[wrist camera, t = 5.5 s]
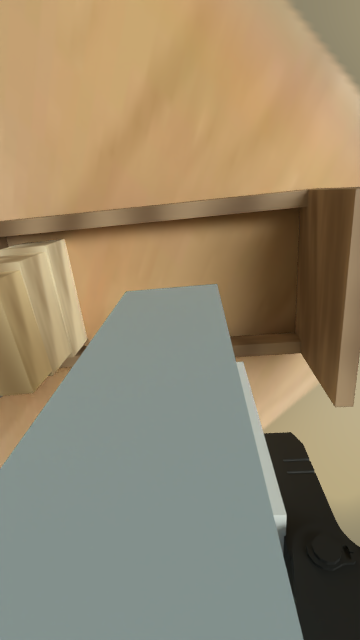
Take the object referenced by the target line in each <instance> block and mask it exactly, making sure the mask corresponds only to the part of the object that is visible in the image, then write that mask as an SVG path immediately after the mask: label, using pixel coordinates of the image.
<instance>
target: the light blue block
mask: <svg viewBox="0 0 360 640" xmlns="http://www.w3.org/2000/svg"><path fill="white" fill-rule="evenodd" d="M0 640H304V639H303V635H302V631H301V627H300V623H299V619H298V615H297V610H296V606H295V602H294V598H293V594H292V590H291V586H290V582H289V578H288V573H287V569H286V565H285V561H284V557H283V553H282V549H281V545H280V541H279V536H278V532H277V528H276V524H275V520H274V516H273V512H272V508H271V503H270V499H269V495H268V491H267V487H266V483H265V479H264V475H263V471H262V466H261V462H260V458H259V454H258V450H257V446H256V442H255V438H254V434H253V429H252V425H251V421H250V417H249V413H248V409H247V405H246V401H245V397H244V392H243V388H242V384H241V380H240V376H239V372H238V368H237V364H236V359H235V355H234V351H233V347H232V343H231V339H230V335H229V331H228V327H227V322H226V318H225V314H224V310H223V306H222V302H221V298H220V294H219V290H218V285H217V284H210V285H198V286H186V287H174V288H162V289H150V290H138V291H127V292H125V294H124V295H123V297H122V298H121V299H120V301H119V302H118V304H117V305H116V306H115V308H114V309H113V311H112V312H111V313H110V315H109V316H108V318H107V319H106V321H105V322H104V323H103V325H102V326H101V328H100V329H99V330H98V332H97V333H96V335H95V336H94V337H93V339H92V340H91V342H90V343H89V345H88V346H87V347H86V349H85V350H84V352H83V353H82V354H81V356H80V357H79V359H78V360H77V361H76V363H75V364H74V366H73V367H72V368H71V370H70V371H69V373H68V374H67V376H66V377H65V378H64V380H63V381H62V383H61V384H60V385H59V387H58V388H57V390H56V391H55V392H54V394H53V395H52V397H51V398H50V400H49V401H48V402H47V404H46V405H45V407H44V408H43V409H42V411H41V412H40V414H39V415H38V416H37V418H36V419H35V421H34V422H33V424H32V425H31V426H30V428H29V429H28V431H27V432H26V433H25V435H24V436H23V438H22V439H21V440H20V442H19V443H18V445H17V446H16V447H15V449H14V450H13V452H12V453H11V455H10V456H9V457H8V459H7V460H6V462H5V463H4V464H3V466H2V467H1V469H0Z"/></svg>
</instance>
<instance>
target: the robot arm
mask: <svg viewBox="0 0 360 640" xmlns="http://www.w3.org/2000/svg"><path fill="white" fill-rule="evenodd" d="M236 364H237V368H238V372H239V376H240V380H241V384H242V388H243V392H244V397H245V401H246V405H247V409H248V413H249V417H250V421H251V425H252V429H253V434H254V438H255V442H256V446H257V450H258V454H259V458H260V462H261V466H262V471H263V475H264V479H265V483H266V487H267V491H268V495H269V499H270V503H271V508H272V512H273V516H274V520H275V524H276V528H277V532H278V536H279V541H280V545H281V549H282V553H283V557H284V561H285V565H286V569H287V573H288V578H289V582H290V586H291V590H292V594H293V598H294V602H295V606H296V610H297V615H298V619H299V623H300V627H301V631H302V635H303V639H304V640H360V547H359V546H357V545H356V544H355V543H353V542H352V541H351V540H350V539H349V538H348V537H347V536H346V535H345V534H344V533H343V532H342V530H341V529H340V527H339V526H338V524H337V522H336V520H335V517H334V515H333V513H332V511H331V508H330V506H329V504H328V501H327V499H326V497H325V494H324V492H323V490H322V487H321V485H320V483H319V480H318V478H317V476H316V473H315V472H314V469H313V466H312V464H311V462H310V461H309V457H308V455H307V452H306V450H305V448H304V445H303V444H302V443H301V442H300V441H299V440H298V439H297V438H296V437H295V436H294V435H293V434H292V433H291V432H289V433H268V434H267V433H266V434H264V433H263V430H262V426H261V423H260V419H259V416H258V412H257V409H256V405H255V402H254V398H253V394H252V391H251V387H250V384H249V380H248V377H247V373H246V370H245V366H244V363H243V362H236Z"/></svg>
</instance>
